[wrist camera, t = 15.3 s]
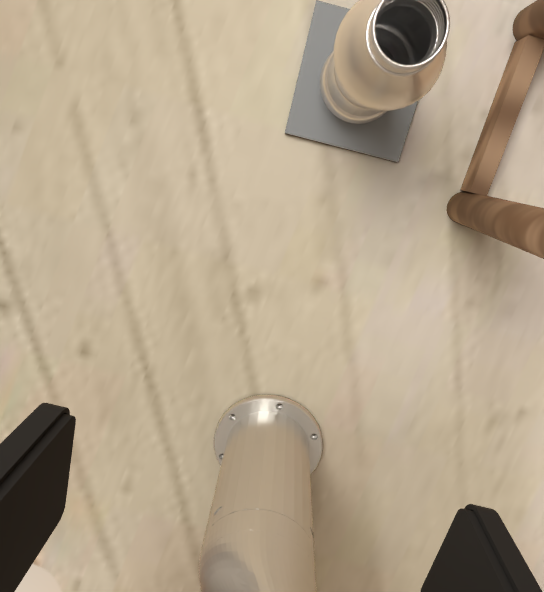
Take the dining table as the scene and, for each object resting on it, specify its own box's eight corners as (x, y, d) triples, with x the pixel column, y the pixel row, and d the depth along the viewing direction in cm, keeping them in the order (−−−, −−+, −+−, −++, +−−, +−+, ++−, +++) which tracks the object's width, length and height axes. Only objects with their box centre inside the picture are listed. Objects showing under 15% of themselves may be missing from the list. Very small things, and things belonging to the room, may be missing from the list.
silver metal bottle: (341, 31, 39) (386, -87, 20) (407, 71, 40) (512, -6, 20) (305, 102, 41) (314, 56, 22) (368, 139, 41) (431, 126, 22)
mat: (396, 162, 42) (398, 162, 42) (284, 133, 42) (284, 132, 42) (437, 35, 39) (439, 33, 38) (316, 2, 39) (316, 0, 38)
